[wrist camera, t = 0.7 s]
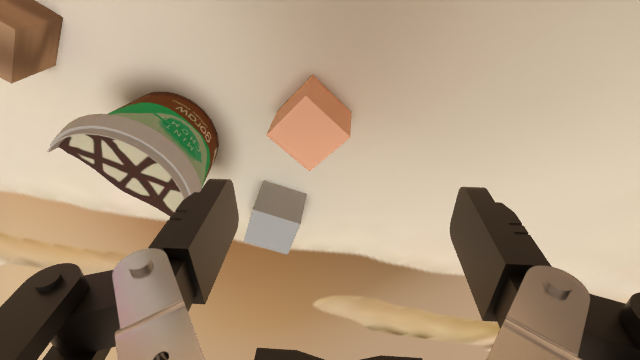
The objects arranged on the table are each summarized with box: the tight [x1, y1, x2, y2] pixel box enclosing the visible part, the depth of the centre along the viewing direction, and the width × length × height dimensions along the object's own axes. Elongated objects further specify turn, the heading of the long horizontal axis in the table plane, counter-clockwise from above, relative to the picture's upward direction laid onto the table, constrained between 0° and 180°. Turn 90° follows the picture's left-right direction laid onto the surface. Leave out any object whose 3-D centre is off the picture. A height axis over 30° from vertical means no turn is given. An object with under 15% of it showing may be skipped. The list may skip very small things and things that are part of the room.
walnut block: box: [0, 0, 63, 83], centre depth 27 cm, size 5×5×5 cm
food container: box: [47, 92, 219, 216], centre depth 29 cm, size 12×6×10 cm, turn 47°
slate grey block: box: [244, 181, 306, 254], centre depth 37 cm, size 5×5×5 cm
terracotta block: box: [267, 75, 351, 171], centre depth 30 cm, size 5×5×5 cm
